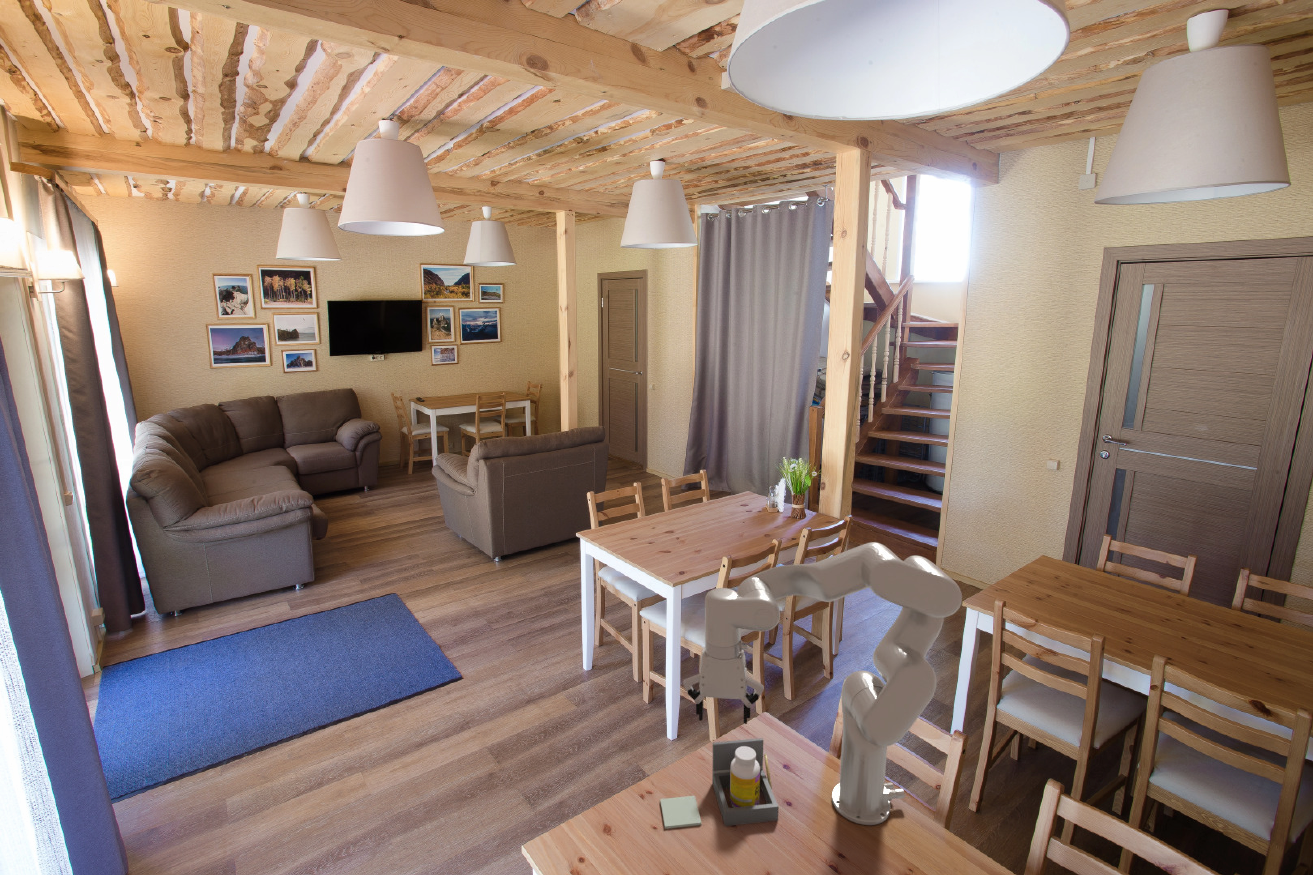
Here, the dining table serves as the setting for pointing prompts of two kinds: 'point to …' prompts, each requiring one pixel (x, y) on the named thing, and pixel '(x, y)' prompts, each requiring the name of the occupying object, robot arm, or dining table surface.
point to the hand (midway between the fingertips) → (723, 718)
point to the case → (721, 780)
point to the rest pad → (680, 812)
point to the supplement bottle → (744, 778)
